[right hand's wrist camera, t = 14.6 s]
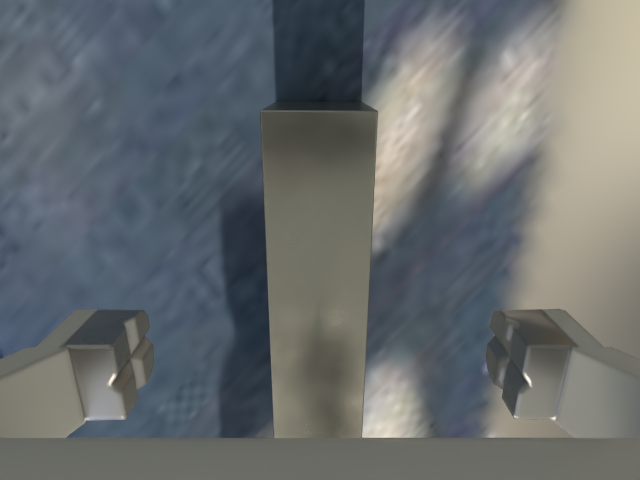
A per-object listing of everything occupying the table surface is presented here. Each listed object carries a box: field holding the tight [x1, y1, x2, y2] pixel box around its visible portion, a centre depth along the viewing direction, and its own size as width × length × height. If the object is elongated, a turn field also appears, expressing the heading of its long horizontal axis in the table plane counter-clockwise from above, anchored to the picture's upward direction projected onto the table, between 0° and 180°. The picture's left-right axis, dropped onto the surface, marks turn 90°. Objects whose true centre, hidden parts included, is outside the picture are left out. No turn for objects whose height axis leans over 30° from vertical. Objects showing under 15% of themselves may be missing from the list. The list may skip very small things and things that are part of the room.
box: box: [260, 101, 378, 438], centre depth 29 cm, size 23×6×9 cm, turn 0°
